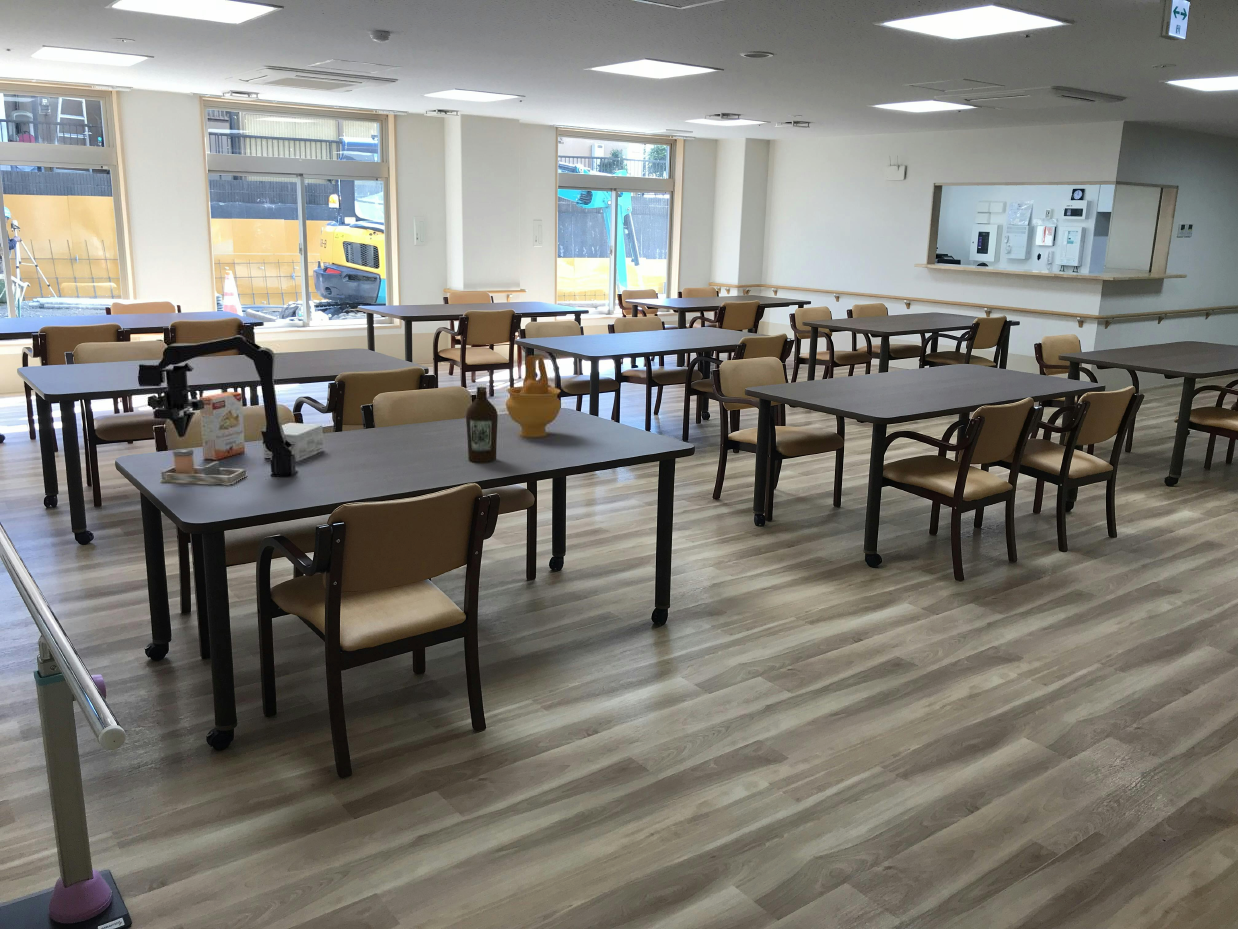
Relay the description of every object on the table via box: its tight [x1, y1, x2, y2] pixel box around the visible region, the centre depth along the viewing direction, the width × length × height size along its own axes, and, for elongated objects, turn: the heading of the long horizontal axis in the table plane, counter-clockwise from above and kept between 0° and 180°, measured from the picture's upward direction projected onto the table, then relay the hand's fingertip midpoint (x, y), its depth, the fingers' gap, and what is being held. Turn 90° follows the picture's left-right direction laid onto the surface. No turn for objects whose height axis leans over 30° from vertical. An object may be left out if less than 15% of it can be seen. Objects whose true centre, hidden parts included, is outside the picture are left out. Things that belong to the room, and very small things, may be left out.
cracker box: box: [198, 391, 246, 461], centre depth 329 cm, size 14×6×21 cm, turn 160°
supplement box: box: [261, 422, 325, 462], centre depth 335 cm, size 17×13×9 cm
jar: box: [172, 448, 195, 474], centre depth 301 cm, size 6×6×8 cm
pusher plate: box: [203, 461, 220, 475], centre depth 301 cm, size 1×7×4 cm, turn 174°
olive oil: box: [465, 386, 499, 464], centre depth 331 cm, size 11×11×25 cm
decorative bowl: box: [505, 355, 562, 438], centre depth 373 cm, size 21×21×30 cm
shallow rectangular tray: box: [160, 465, 248, 486], centre depth 301 cm, size 22×11×3 cm, turn 84°
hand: (181, 436), depth 299 cm, fingers closed
